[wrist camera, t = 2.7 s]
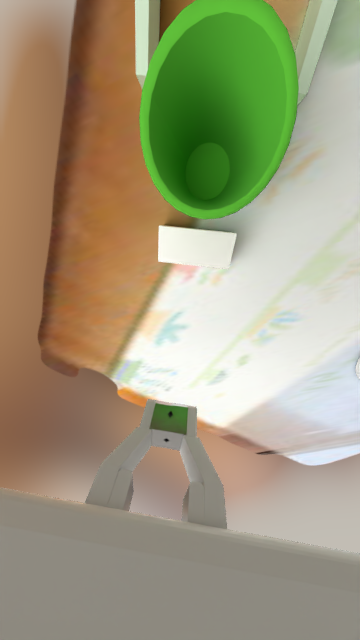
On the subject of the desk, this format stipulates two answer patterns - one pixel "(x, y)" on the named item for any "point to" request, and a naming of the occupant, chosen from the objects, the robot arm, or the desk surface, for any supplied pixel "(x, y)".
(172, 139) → the cup
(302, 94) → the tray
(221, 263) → the eraser
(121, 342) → the desk surface
